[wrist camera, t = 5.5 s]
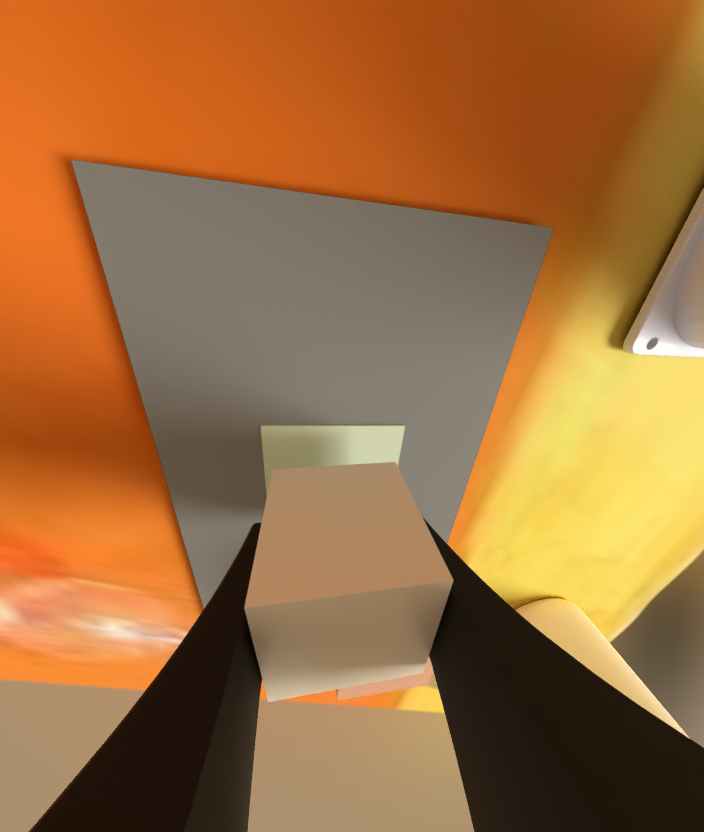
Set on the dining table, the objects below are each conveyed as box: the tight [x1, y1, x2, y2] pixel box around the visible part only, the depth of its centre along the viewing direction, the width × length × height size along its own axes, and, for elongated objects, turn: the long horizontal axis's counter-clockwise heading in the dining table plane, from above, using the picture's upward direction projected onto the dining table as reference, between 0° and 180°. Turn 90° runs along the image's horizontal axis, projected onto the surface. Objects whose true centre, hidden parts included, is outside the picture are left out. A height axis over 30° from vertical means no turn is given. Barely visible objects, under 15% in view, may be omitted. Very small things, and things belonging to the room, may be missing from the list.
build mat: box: [71, 160, 554, 608], centre depth 12 cm, size 14×21×1 cm, turn 175°
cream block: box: [244, 462, 453, 702], centre depth 9 cm, size 4×4×4 cm
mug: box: [515, 598, 690, 739], centre depth 18 cm, size 12×8×10 cm
